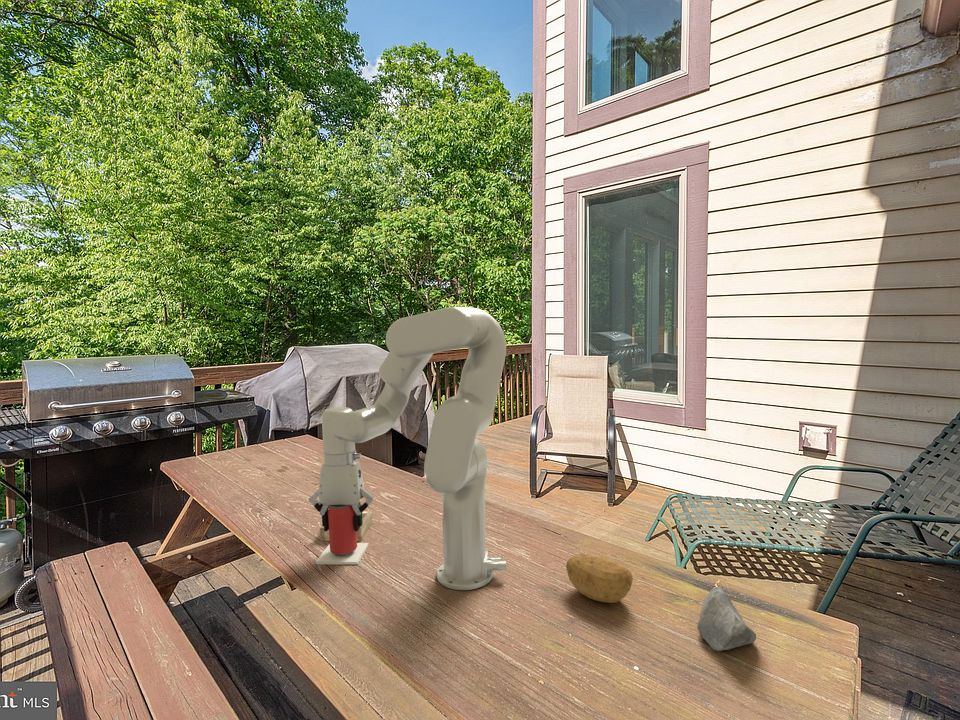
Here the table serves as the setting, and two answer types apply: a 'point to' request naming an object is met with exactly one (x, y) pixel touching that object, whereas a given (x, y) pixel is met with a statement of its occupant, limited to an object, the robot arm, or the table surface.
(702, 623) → the stone
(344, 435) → the robot arm
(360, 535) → the frame
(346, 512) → the beer can
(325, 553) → the coaster
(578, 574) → the potato
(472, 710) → the table surface
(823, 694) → the table surface
